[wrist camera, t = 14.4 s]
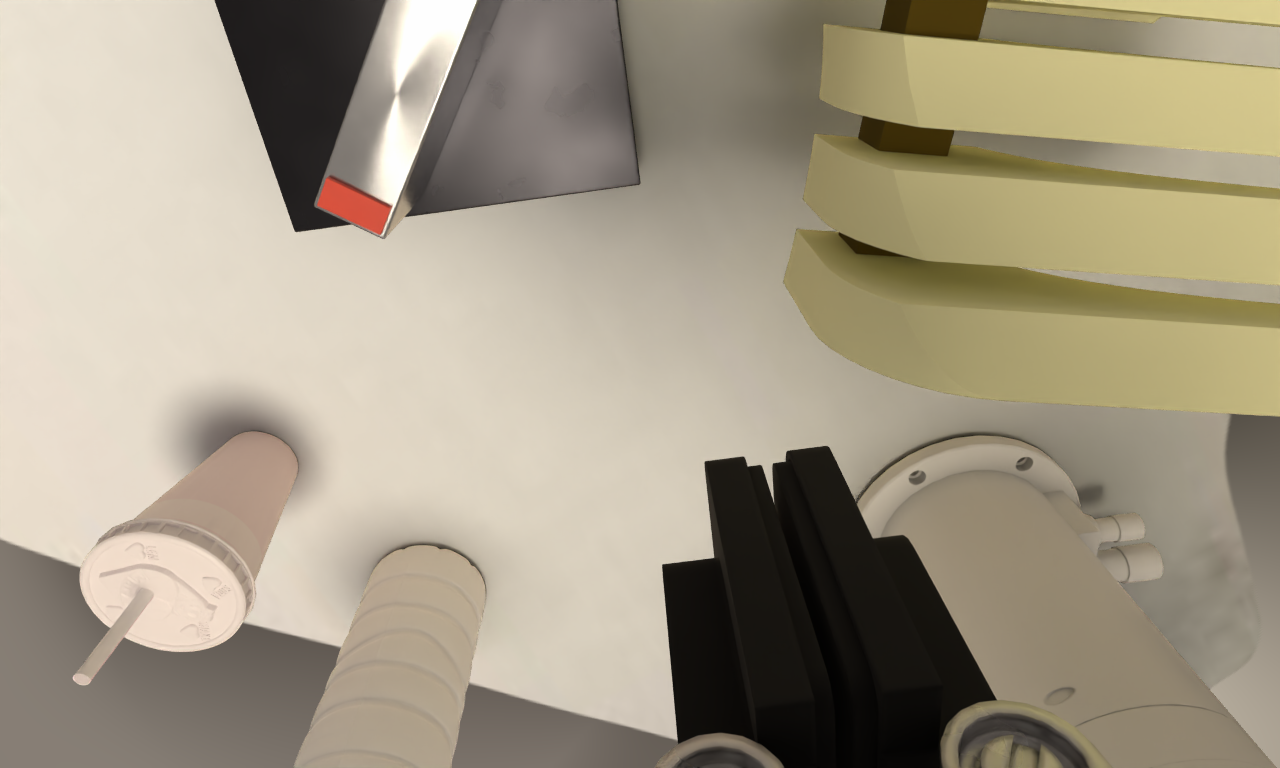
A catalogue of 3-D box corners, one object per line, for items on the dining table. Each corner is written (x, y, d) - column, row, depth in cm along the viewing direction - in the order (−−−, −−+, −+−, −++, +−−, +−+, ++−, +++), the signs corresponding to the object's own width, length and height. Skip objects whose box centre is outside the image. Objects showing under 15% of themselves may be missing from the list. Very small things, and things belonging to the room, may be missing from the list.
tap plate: (603, -104, 28) (602, -113, 26) (638, 168, 33) (640, 184, 30) (234, -49, 29) (195, -52, 26) (319, 212, 33) (294, 232, 31)
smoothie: (215, 387, 37) (15, 589, 25) (343, 440, 39) (217, 656, 26) (180, 483, 39) (-17, 712, 27) (302, 530, 41) (169, 765, 29)
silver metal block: (449, -68, 26) (409, -82, 21) (514, -30, 27) (491, -34, 21) (362, 170, 30) (309, 208, 24) (421, 198, 30) (382, 242, 25)
